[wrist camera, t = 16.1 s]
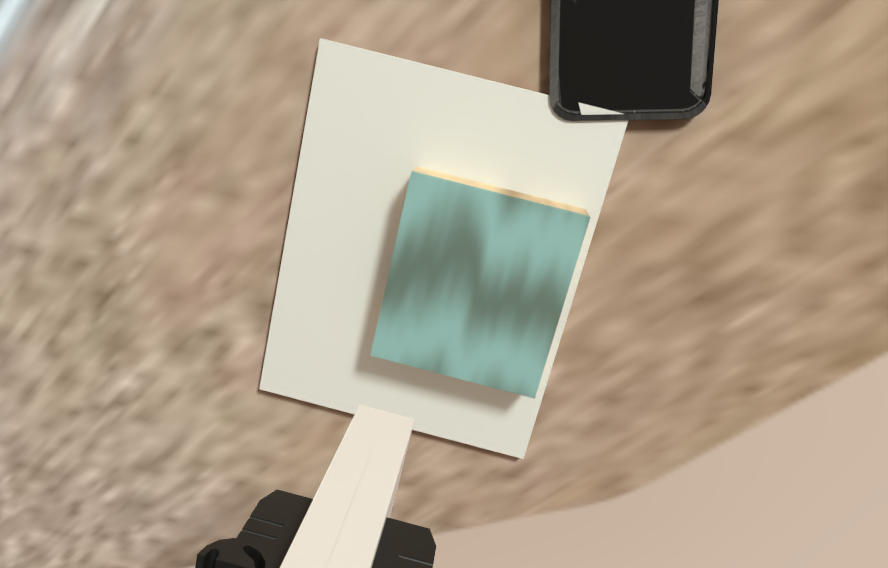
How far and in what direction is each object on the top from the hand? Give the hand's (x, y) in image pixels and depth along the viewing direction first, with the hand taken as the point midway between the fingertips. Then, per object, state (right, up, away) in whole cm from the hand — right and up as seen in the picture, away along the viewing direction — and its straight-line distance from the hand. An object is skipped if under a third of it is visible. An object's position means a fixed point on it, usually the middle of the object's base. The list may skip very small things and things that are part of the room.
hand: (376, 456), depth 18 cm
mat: (+1, +6, +20) cm, 20 cm away
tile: (-1, +6, +18) cm, 19 cm away
